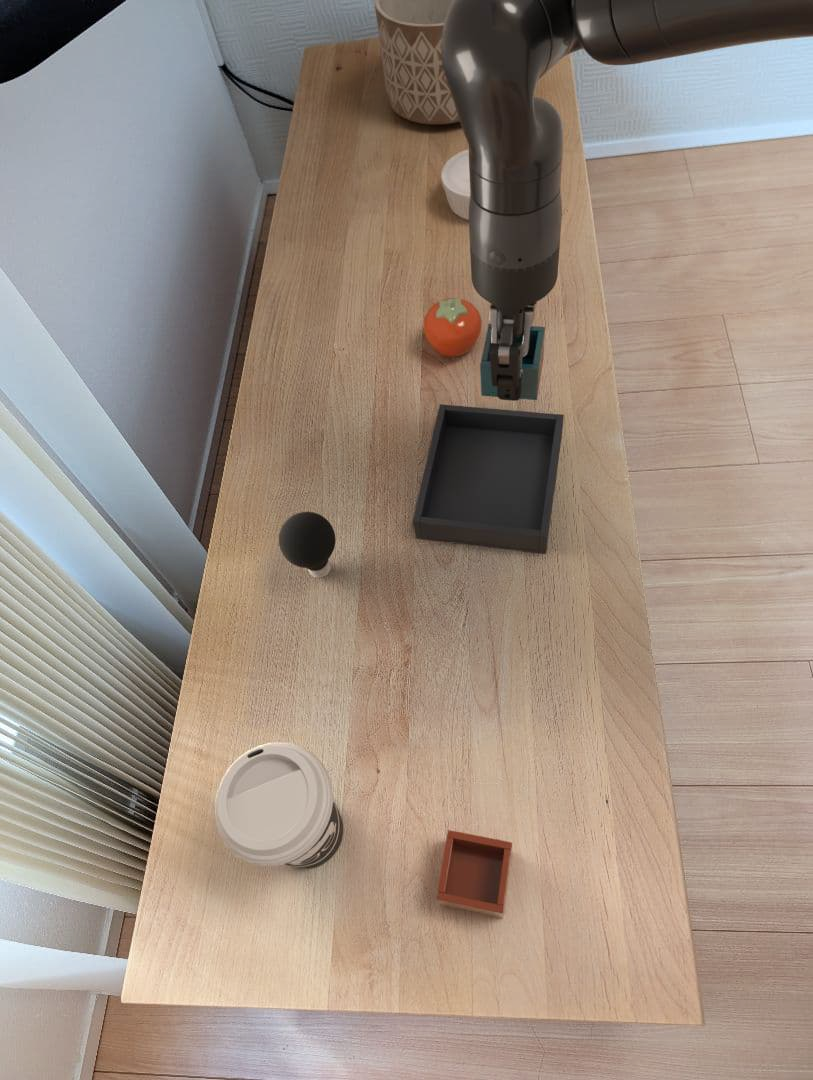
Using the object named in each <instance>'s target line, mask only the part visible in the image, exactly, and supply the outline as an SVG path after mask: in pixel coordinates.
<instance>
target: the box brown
mask: <svg viewBox="0 0 813 1080" xmlns="http://www.w3.org/2000/svg"><path fill="white" fill-rule="evenodd" d="M512 857H513V842H512V841H507V840H502V839H497V838H491V837H486V836H481V835H476V834H471V833H466V832H461V831H457V830H450V829H448V830H447V834H446V838H445V845H444V851H443V855H442V861H441V869H440V875H439V881H438V887H437V893H436V898H435V899H436V901H437V902H438V903H439V905H440V906H444V907H449V908H452V909H459V910H462V911H467V912H472V913H477V914H481V915H486V916H490V917H495V918H499V919H504V918H505V911H506V902H507V896H508V895H507V894H508V887H509V878H510V873H511V872H510V871H511V865H512Z"/></svg>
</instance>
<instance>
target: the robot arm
mask: <svg viewBox="0 0 813 1080" xmlns="http://www.w3.org/2000/svg"><path fill="white" fill-rule="evenodd" d="M801 38H802V39H803V38H813V0H454V1H453V2H452V4H451V6H450V8H449V10H448V12H447V16H446V19H445V23H444V28H443V35H442V45H441V54H442V64H443V69H444V73H445V77H446V80H447V83H448V86H449V89H450V92H451V95H452V98H453V101H454V104H455V107H456V110H457V113H458V117H459V120H460V122H459V124H460V125H461V129H462V131H463V134H464V136H465V139H466V142H467V144H468V149H469V174H470V203H469V220H468V235H469V236H468V237H469V256H470V276H471V283H472V286H473V288H474V290H475V291H476V293H477V294H478V295H479V296H480V297H481V298H482V299H484V300H485V301H486V302H488V303H490V307H489V321H488V322H489V323H490V324H491V325H492V336H491V347H489V353H490V363H491V375H492V377H491V382H492V386H498V397H497V398H498V399H499V400H502V401H514V402H517V401H519V400H521V399H520V394H521V374H523V369H522V363H523V357H524V356H526V355H527V353H528V349H529V341H530V327H531V326H533V323H534V321H535V313H536V306H537V303H538V302H539V301H540V300H542V299H544V298H545V297H546V296H548V294H550V292H551V291H552V290H553V289H554V287H555V286H556V283H557V280H558V276H559V264H560V263H559V261H560V249H561V248H560V247H561V231H562V219H563V203H562V193H561V189H562V187H561V185H562V170H563V168H562V167H563V156H564V155H563V154H564V127H563V121H562V118H561V116H560V113H559V111H558V110H557V109H556V107H555V106H554V105H553V104H552V103H551V102H549V101H548V100H547V99H545V98H543V97H539V96H536V95H535V92H536V87H537V83H538V81H539V80H540V79H542V77H543V76H544V75H545V74H547V73H548V72H549V71H550V70H551V69H552V68H553V67H554V66H555V65H556V64H557V63H558V62H559V61H561V60H562V59H563V58H564V57H566V56H568V55H569V54H572V53H574V52H578V51H580V50H584V51H585V53H587V55H588V56H589V57H591V59H593V60H594V61H596V62H597V63H600V64H603V65H606V66H628V65H629V66H630V65H637V64H643V63H648V62H653V61H654V62H655V61H660V60H665V59H670V58H671V59H672V58H676V57H681V56H687V55H692V54H699V53H704V52H708V51H709V52H710V51H714V50H720V49H726V48H731V47H732V48H733V47H738V46H743V45H751V44H756V43H765V42H772V41H781V40H791V39H801ZM499 334H500V336H501V340H499V338H498V335H499ZM521 337H523V342H522V343H512V339H520V338H521Z"/></svg>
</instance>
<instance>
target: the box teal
mask: <svg viewBox="0 0 813 1080" xmlns="http://www.w3.org/2000/svg"><path fill="white" fill-rule="evenodd" d="M545 332H546V327H545V326H539V325H538V326H537V325H532V326H531V327H530V341H529V349H528V353H527V355H526V356H524V357H523V363H522V369H523V374H521V394H520V399H519V400H527V401H528V400H531V401H537V400H538V395H539V389H540V382H541V377H542V370H543V364H544V355H545V354H544V352H545V337H546V333H545ZM491 336H492V325H491V324H490V322H489V323H488V324H487V329H486V333H485V339H484V343H483V347H482V348H483V349H482V354H481V359H480V364H479V367H480V368H479V371H480V391H481V392H480V394H481V396H482V397H493V398H498V386H492V382H491V377H492V375H491V363H490V353H489V347H491ZM498 338H499V340H501V336H500V334H499V335H498ZM522 342H523V337H521V338H520V339H512V343H522Z"/></svg>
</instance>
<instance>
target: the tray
mask: <svg viewBox="0 0 813 1080" xmlns="http://www.w3.org/2000/svg"><path fill="white" fill-rule="evenodd" d="M436 414H437V415H436V419H435V423H434V427H433V432H432V435H431V441H430V444H429V445H430V446H429V448H428V454H427V458H426V461H425V467H424V469H423V473H422V474H423V475H422V480H421V483H420V486H419V487H420V488H419V491H418V497H417V499H416V503H415V504H416V505H415V509H414V513H413V519H412V525H413V531H414V535H415V538H416V539H420V540H428V541H437V542H444V543H445V542H446V543H455V544H462V545H470V546H476V547H477V546H479V547H487V548H494V549H505V550H510V551H511V550H512V551H520V552H528V553H535V554H536V553H537V554H543V555H545V554H547V550H548V544H549V543H548V542H549V535H550V527H551V520H552V512H553V506H554V505H553V504H554V499H555V498H554V497H555V490H556V483H557V475H558V467H559V460H560V453H561V446H562V445H561V444H562V438H563V429H564V420H565V419H564V418H565V414H562V413H561V414H560V413H548V412H537V411H535V412H534V411H523V410H512V409H511V410H510V409H499V408H488V407H477V406H476V407H475V406H464V405H455V404H454V405H453V404H442V403H439V405H438V410H437V413H436Z"/></svg>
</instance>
